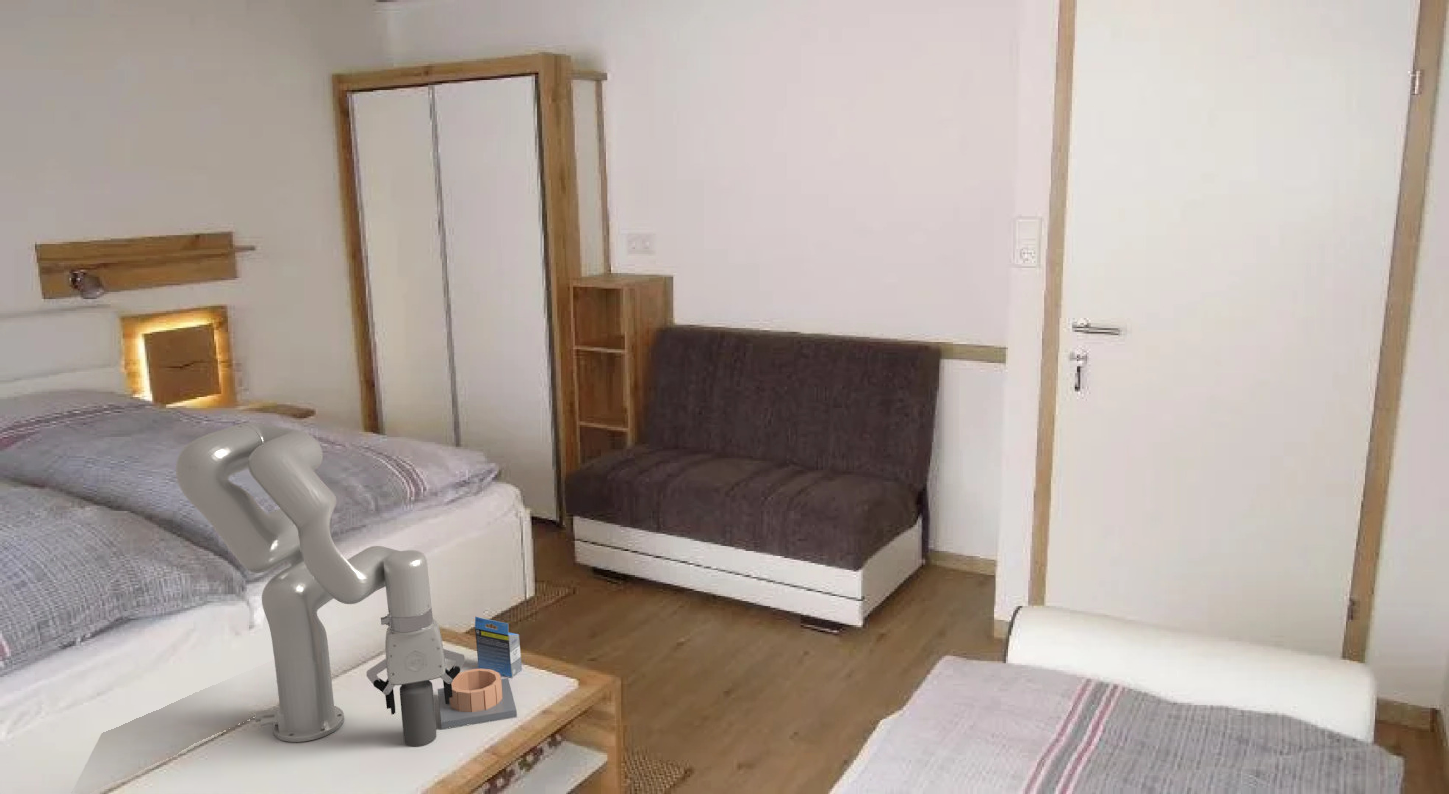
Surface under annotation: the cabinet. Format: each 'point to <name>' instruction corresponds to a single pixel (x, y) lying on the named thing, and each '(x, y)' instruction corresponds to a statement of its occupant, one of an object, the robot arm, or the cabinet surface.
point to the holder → (477, 699)
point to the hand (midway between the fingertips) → (420, 706)
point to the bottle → (418, 713)
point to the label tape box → (497, 647)
